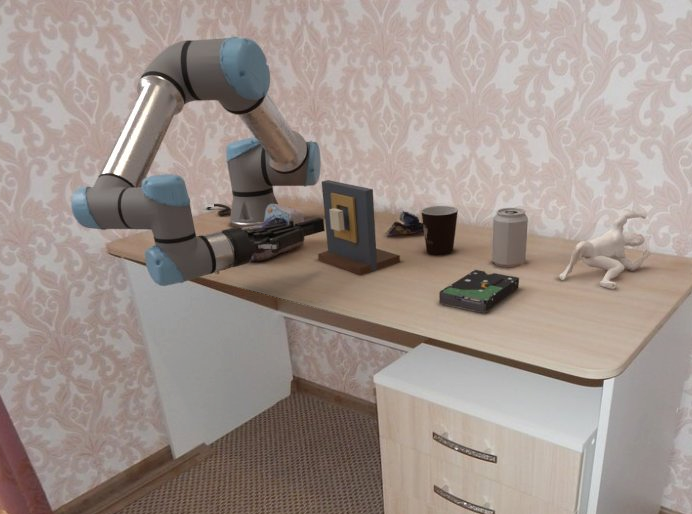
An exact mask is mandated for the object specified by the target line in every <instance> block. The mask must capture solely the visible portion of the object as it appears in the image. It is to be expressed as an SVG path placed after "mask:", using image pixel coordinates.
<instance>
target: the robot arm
mask: <svg viewBox="0 0 692 514" xmlns="http://www.w3.org/2000/svg"><path fill="white" fill-rule="evenodd" d="M267 59H268V58H267V57H266V54H265V53H264V51H263V49H262V48H261V46H260V45H259V44H258V43H257V42H256V41H255V40H253V39H251V38H246V37H238V36H231V37H222V38H210V39H207V38H206V39H194V40H189V39H188V40H187V39H186V40H181V41H177V42H175V43H173V44H171V45H169V46H167V47H166V48H165V49H163V50H162V51H161V52H159V54H157V55H156V56H155V58H153V59H152V60H151V62H149V64H148V65H147V67H146V68H145V69H144V71H143V73H142V74H141V76H140V78H139V80H138V83H137V85H136V90H137V93H138V95H137V97H136V99H135V100H134V103H133V105H132V107H131V109H130V111H129V113H128V115H127V117H126V120H125V121H124V124H123V125H122V127H121V129H120V132H119V134H118V136H117V137H116V139H115V142H114V144H113V145H112V148H111V149H110V152H109V154H108V156H107V158H106V160H105V162H104V164H103V165H102V167H101V170H100V171H99V174H98V176H97V179H96V180H95V183H94V185H93V186H92V187H91V186H86V187H81V188H78V189H77V190H75V191H74V192H73V194H72V196H71V203H70V207H71V212H72V215H73V217H74V219H75V220H76V222H77V223H78V224H79V225H80V226H82V227H84V228H87V229H93V230H102V231H106V230H145V231H146V230H149V231H150V230H151V232H152V235H153V239H154V245H152V246H151V247H148V248H147V249H146V250H145V252H144V257H145V259H144V262H145V266H146V269H147V271H148V274H149V276H150V277H151V279H152V281H153V282H154V283H155V284H156V285H158V286H161V287H166V286H167V287H168V286H172V285H175V284H183V283H186V282H188V281H191V280H195V279H197V278H201V277H204V276H208V275H212V274H215V275H219V274H220V272H221V271H225V270H228V269H231V268H236V267H240V266H244V265H247V264H249V263H250V262H252V261H251V259H252V255H253V253H263V252H265V251H266V250H269V249H271V251H272V253H277V252H278V251H280V250H281V249H284V248H286V247H289V246H291V245H294V244H296V243H299V242H302V241H304V242H305V238H304V236H305V237H308V236H311V235H312V236H313V235H315V234H319V233H322V232H326V228H325V218H323V217H316V218H313V219H309V220H305V222H301V223H297V224H295V226H294V223H293V221H289V225H287V224H286V223H283V224H278V225H272V226H266V227H260V228H255V229H241V228H242V227H249V226H257V225H262V224H263V222H264V220H265V211H266V208H267V206H268V205H270V204H279V203H278V201H277V198H276V195H275V191H274V187H311V186H316V185H317V184H318V182H319V179H320V175H321V167H322V166H321V165H322V163H321V162H322V161H321V158H322V157H321V150H320V146H319V144H318V142H317V141H312V140H309V141H307V140H306V139H305V138H304V137H303V136H302V135H301V133H299V132H297V131H295V130H292V128H291V127H290V125H289V123H288V122H287V120H286V119H285V118H284V116H283V115H282V113H281V111H280V110H279V108H278V107H277V105H276V103H275V102H274V100H273V98H272V97H271V96H270V93H268V92H269V91H270V87H271V72H270V67H269V65H268V64H267V61H268V60H267ZM195 101H196V102H197V101H198V102H199V101H202V102H203V101H216V102H218V103H219V104H220V105H221V107H223V109H224V111H226V112H228V113H230V114H231V115H236V116H237V117H239V119H240V120H241V121H242V122H243V124H244V125H245V127H247V129H248V130H249V132H250V133H251V134H252V135H253V137H249V138H245V139H244V138H243V139H240V140H236V141H233V142H230V143H229V144H227V146H226V148H225V155H226V164H227V169H228V176H229V182H230V188H231V192H232V203H231V208H230V206H229V205H226V204H222V203H213V204H214V207H208V206H207V207H206V210H207V211H208V210H211V208H216V207H217V208H222V209H221V210H218V212H217V215H218V216H230V217H229V221H230V226H231V227H230V228H226V229H222V230H221V231H220V230H217V231H214V232H213V231H212V232H209V233H205V234H201V235H198V236H197V234H196V228H195V224H194V218H193V213H192V208H191V207H192V206H191V199H190V197H189V193H188V189H187V185H186V182H185V181H186V180H184V178H183V177H182V176H181V175H178V174H174V173H173V174H172V173H165V174H155V175H151V176H148V174H149V172H150V170H151V168H152V165H153V163H154V161H155V158H156V157H157V155H158V152H159V149H160V147H161V146H162V143H163V141H164V138H165V135H166V134H167V132H168V130H169V128H170V125H171V123H172V120H173V118H174V116H176V115H177V116H178V115H179V114H180V113H181V112H182V111H183V109H184V107H185V105H186V104H188V103H191V102H195Z"/></svg>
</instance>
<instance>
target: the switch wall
mask: <svg viewBox="0 0 692 514" xmlns="http://www.w3.org/2000/svg"><path fill="white" fill-rule="evenodd" d="M321 189H322V191H321V192H322V202H323V212H324V213H323V214H324V225H325V232H326V243H327V250H325V251H322V252H319V253H317V258H318V261H320V262H323V263H325V264H329V265H331V266H334V267H336V268H340V269H343V270H346V271H347V272H350V273H352V274H353V273H354V274H355V275H359V276H363V275H365V274H368V273H371V272H374V271H378V270H379V269H382V268H386V267H389V266H392V265H396V264H398V263H400V262H401V255H399V254H396V253H393V252H390V251H386V250H383V249H380V248H377V239H376V238H377V237H376V220H375V205H374V204H375V203H374V189H373V188H368V187H364V186H360V185H353V184H349V183H344V182H340V181H335V180H329V179H326V180H322V181H321ZM333 208H335V209H339V210H343V218H344V230H342V231H337V230H334V229H331V222H330V211H329V209H333Z"/></svg>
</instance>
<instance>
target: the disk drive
mask: <svg viewBox="0 0 692 514" xmlns="http://www.w3.org/2000/svg"><path fill="white" fill-rule="evenodd" d="M519 287H520V277H518V276H513V275H507V274H502V273H497V272H493V273H490V274H488V273H486V271H484V270H479V269H474V270H472V271H471V272H468V273H467V274H465V276H463V277H461V278H459V279H457V280H456V281H455V282H453V283H451V284H449V285H447V286H446V287H444V288H443V289H441V290H440V291H439V293H438V295H439V296H438V297H439V298H438V299H439V304H442V305H446V306H449V307H455V308H458V309H464V310H467V311H468V310H469V311H472V312H477V313H487V312H489V311H490V310H491V309H492V308H494V307H496V306H497V305H498V304H500V303H501V302H502V301H504V300H505V299H506V298H508V297H509V296H511V294H513V293H515V292H516V291H517V290H518V289H519Z"/></svg>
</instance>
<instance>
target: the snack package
mask: <svg viewBox="0 0 692 514" xmlns="http://www.w3.org/2000/svg"><path fill="white" fill-rule="evenodd" d="M399 221H400V222H399ZM399 221H394V222H393V224H392V225H391V227H390V228H388V230H387V232H385V235H386V237H389V236H390V235H411V234H416V233H419V232H421V231H424V228H423V222H420V219H419V217H418V216H417V215H415V214H413V213H410V212H409V211H405V210H402V211H401V213H400V214H399Z"/></svg>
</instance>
